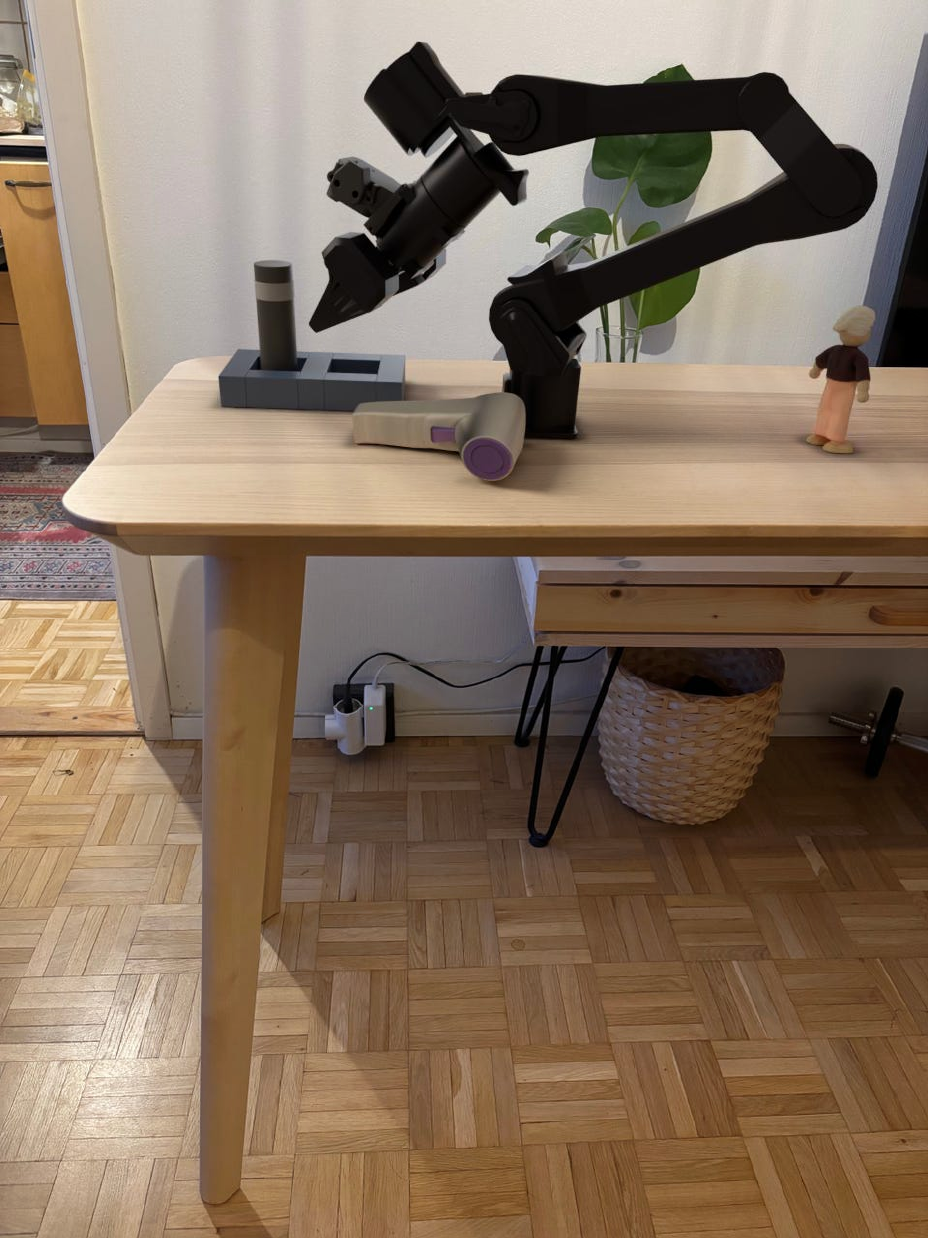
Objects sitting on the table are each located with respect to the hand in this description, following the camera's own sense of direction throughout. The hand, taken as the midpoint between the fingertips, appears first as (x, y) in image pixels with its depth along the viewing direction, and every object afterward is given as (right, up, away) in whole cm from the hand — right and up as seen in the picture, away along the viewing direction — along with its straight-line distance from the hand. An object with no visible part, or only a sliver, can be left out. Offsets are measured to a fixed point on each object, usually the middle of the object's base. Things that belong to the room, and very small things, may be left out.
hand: (332, 317), depth 89 cm
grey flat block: (-2, -6, +5) cm, 8 cm away
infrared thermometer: (+10, -15, -9) cm, 20 cm away
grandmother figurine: (+47, -13, -1) cm, 49 cm away
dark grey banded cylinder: (-6, -6, +5) cm, 10 cm away
